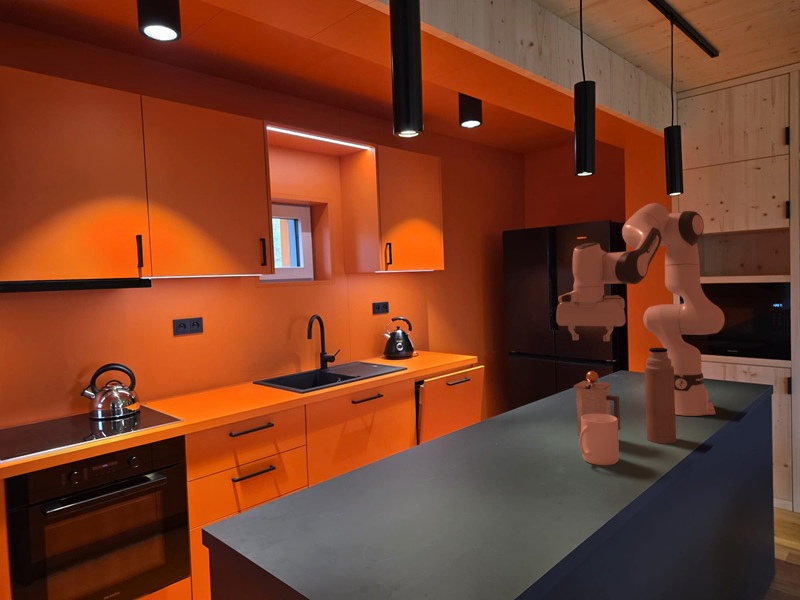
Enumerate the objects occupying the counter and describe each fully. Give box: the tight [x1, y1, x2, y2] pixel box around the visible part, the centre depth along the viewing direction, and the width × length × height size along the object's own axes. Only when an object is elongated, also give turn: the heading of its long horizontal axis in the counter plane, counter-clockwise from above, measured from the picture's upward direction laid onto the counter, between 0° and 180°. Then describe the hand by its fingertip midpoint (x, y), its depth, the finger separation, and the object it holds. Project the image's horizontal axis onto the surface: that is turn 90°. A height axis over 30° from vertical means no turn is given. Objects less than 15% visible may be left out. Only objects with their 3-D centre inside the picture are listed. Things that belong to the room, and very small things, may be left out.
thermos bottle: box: [644, 347, 677, 445], centre depth 156 cm, size 8×8×28 cm
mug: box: [579, 414, 620, 466], centre depth 141 cm, size 10×12×12 cm
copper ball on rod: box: [585, 370, 599, 387], centre depth 159 cm, size 7×7×18 cm
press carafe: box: [573, 380, 621, 440], centre depth 159 cm, size 9×12×17 cm
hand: (590, 340), depth 159 cm, fingers open, 8 cm apart
